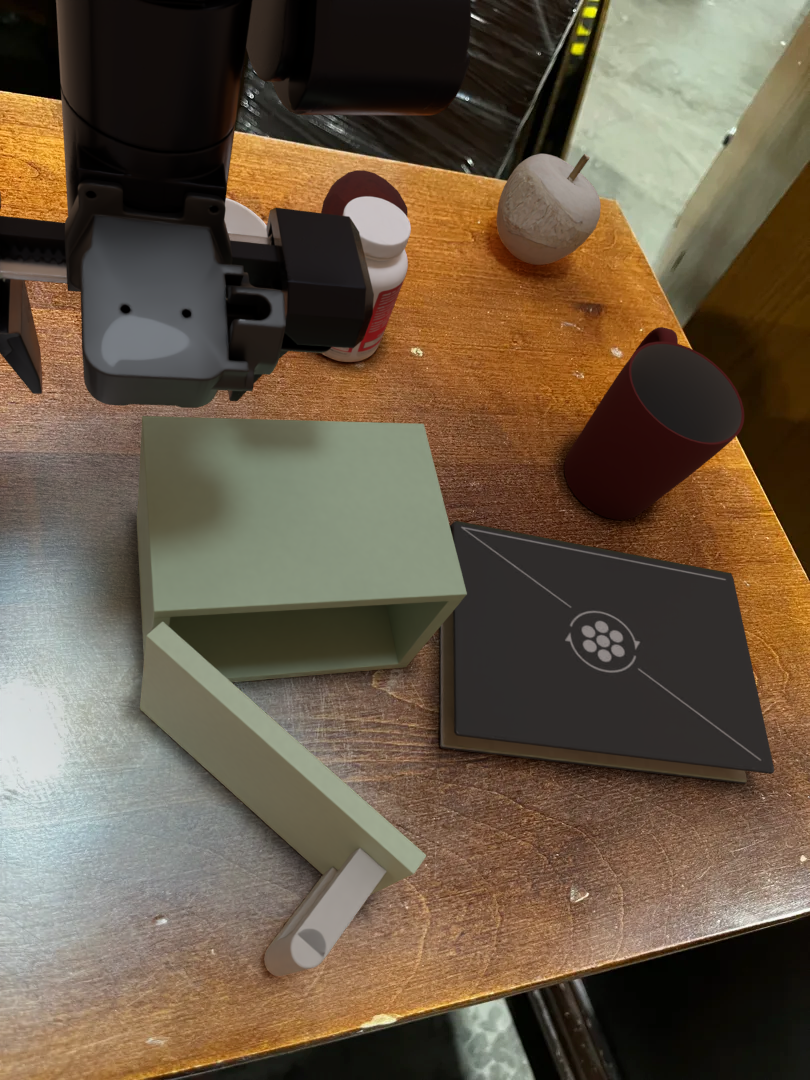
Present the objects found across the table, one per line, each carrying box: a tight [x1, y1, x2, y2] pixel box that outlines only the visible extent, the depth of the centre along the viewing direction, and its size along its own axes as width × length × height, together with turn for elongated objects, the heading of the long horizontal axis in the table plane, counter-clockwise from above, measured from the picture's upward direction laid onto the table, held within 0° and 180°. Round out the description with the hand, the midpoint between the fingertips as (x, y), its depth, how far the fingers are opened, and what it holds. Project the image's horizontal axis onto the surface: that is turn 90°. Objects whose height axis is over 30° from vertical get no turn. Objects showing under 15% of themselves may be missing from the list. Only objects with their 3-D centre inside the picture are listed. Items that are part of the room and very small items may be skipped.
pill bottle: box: [320, 197, 412, 363], centre depth 58 cm, size 6×6×11 cm
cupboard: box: [136, 415, 467, 683], centre depth 46 cm, size 11×16×11 cm
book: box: [439, 520, 775, 785], centre depth 54 cm, size 22×15×3 cm
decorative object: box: [496, 153, 602, 266], centre depth 71 cm, size 9×9×10 cm
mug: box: [563, 326, 745, 521], centre depth 60 cm, size 12×9×11 cm
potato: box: [320, 169, 409, 219], centre depth 66 cm, size 7×8×6 cm
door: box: [139, 622, 427, 977], centre depth 38 cm, size 6×16×10 cm, turn 53°
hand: (138, 390), depth 40 cm, fingers open, 9 cm apart
